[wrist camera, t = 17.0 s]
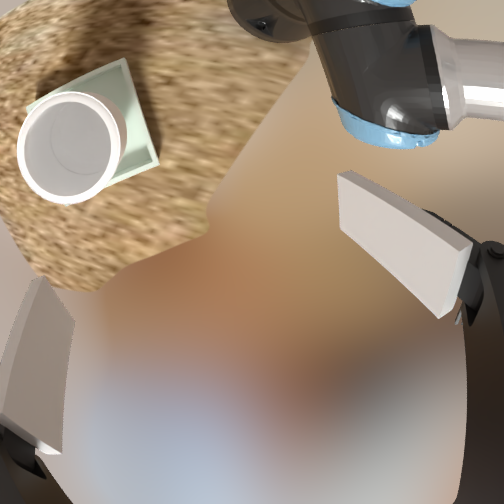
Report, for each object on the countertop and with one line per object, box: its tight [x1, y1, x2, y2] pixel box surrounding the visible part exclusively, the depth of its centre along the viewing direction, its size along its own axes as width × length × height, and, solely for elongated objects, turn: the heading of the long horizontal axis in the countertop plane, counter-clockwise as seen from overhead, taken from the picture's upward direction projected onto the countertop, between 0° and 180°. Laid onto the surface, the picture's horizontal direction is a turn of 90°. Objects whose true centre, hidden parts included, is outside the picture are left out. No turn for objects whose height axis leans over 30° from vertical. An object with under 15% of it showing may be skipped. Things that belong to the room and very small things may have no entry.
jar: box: [17, 92, 127, 204], centre depth 27 cm, size 11×10×15 cm
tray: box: [26, 57, 160, 206], centre depth 32 cm, size 14×15×4 cm
